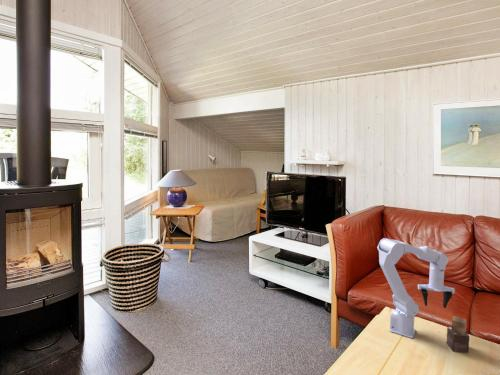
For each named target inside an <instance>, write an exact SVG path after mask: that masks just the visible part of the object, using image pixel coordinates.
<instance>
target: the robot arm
mask: <svg viewBox="0 0 500 375" xmlns="http://www.w3.org/2000/svg"><path fill="white" fill-rule="evenodd" d="M376 248H377V251H378V258H379V259H378V262H379V263H378V264H379V266H380V268H381V270H382V273H383V274H384V277H385V279H386V280H387V282H388V285H389V287H390V290H391V291H392V293H393V294H392V295H391V296H392V302H393V306H394V307H395V309H393V308H392V310H391V313H390V322H389V332H391V333H394V334H397V335H400V336H404V337H408V338H410V339H414V336H415V334H416V331H417V330H416V328H415V317H416V316H417V315H418V314H419V310H420V307H419V305H418V303H416V302H415V301H414V299H413V298H412V297H411V296H410V295H409V294H408V291H407V290H406V287H405V285H404V283H403V281H402V279H401V276H400V275H399V273H398V271H397V268H396V266H395V265H396V264H397V263H398V262H399V260H400V259H401V258H402V256H403V255H406V254H407V253H410V254H413V255H416V257H417V258H418V259H420V260H423V261H425V262H429V273H428V274H429V277H428V278H429V279H428V283H427V284H422V283H421V284H420V283H418V284H417V289H418V291H419V290H420V292H421V295H422V298H423V304H424V306H425V307H427V306H428V295H429V293H428V291H433V292H437V293H438V292H439V293H440V292H442V293H443V295H442V296H443V299H442V306H443V308H444V309H446V308H447V305H448V303H449V301H450V300H451V298H453V294H455V293H456V292H455V291H456V289H455V288H454V287H449V286H446V285H444V284H445V283H444V280H445V270H446V267H447V265H448V263H449V258H448V257H447V254H445V253H444V252H441V251H438V249H435V248H434V249H431V248H430V247H429V246H427V245H424V246H419V247H417V246H414V245H411V244H410V243H409V244H408V243H407V242H403V241H400V240H397V239H392V238H387V237H384V238H383V237H382V239H380V241H379V242H378V245H377V247H376Z"/></svg>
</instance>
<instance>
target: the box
mask: <svg viewBox="0 0 500 375" xmlns="http://www.w3.org/2000/svg"><path fill="white" fill-rule="evenodd" d="M451 329H452V326H448V327H447V330H446V344H447V346H448V347H449V348H450V349H451V351H452V352H455V353H456V352H458V353H466V354H467V353H468V354H469V352H470V351H469V349H470V348H469V346H470V335H469V334H468V333H467V331H465V336H464V335H460V334H457V333H454V332H451Z"/></svg>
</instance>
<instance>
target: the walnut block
mask: <svg viewBox="0 0 500 375" xmlns="http://www.w3.org/2000/svg"><path fill="white" fill-rule="evenodd" d="M451 327H452V329H451V332H454V333H457V334H460V335H464V336H465V332H467V330H466V329H467V319H466V318H462V317H459V316H456V315H453V316H452V319H451Z"/></svg>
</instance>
